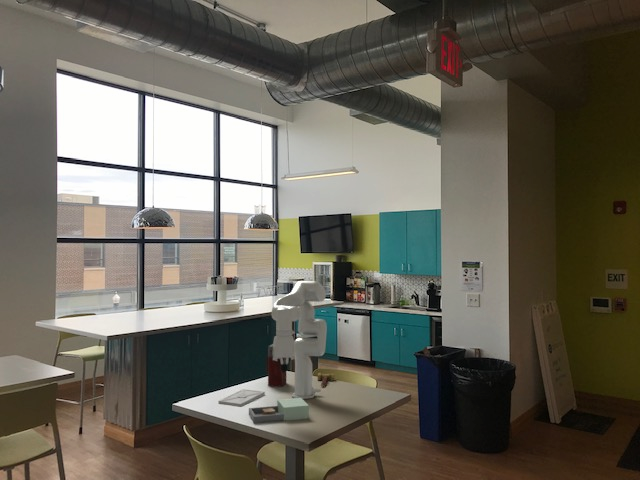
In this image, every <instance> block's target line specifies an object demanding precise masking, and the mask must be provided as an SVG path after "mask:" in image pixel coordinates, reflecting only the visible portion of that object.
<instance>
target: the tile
mask: <svg viewBox="0 0 640 480" xmlns="http://www.w3.org/2000/svg"><path fill="white" fill-rule="evenodd" d="M272 414H275V410H274V409H273V408H268V409H262V415H272Z"/></svg>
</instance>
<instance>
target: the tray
mask: <svg viewBox="0 0 640 480" xmlns="http://www.w3.org/2000/svg"><path fill="white" fill-rule="evenodd" d="M268 408H273V409H274V410H275V414H272V415H262V409H268ZM248 415H249V418H250V420H251V421H252V423H253V424H262V423H272V422H273V423H274V422H283V421H284V414H279V412H278V406H277V405H271V406H258V407H257V406H256V407H248ZM284 422H285V421H284Z"/></svg>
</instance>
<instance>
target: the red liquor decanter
mask: <svg viewBox="0 0 640 480" xmlns="http://www.w3.org/2000/svg"><path fill="white" fill-rule="evenodd" d="M267 348H268V349H267V351H268V352H267V353H268V354H267V357H266V360H265V361H266V363H265V364H266V367H265V369H266V370H265V372H266V373H267V386H268V387H280V388H281V387H284V386H285V385H286V384H287V372H286V373H285V372H284V373H282V371H281V370H280V363H279V362H278V361H275V360H273V343H272V344H270V345H268V347H267ZM284 361H285V358H283V363H284Z"/></svg>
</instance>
